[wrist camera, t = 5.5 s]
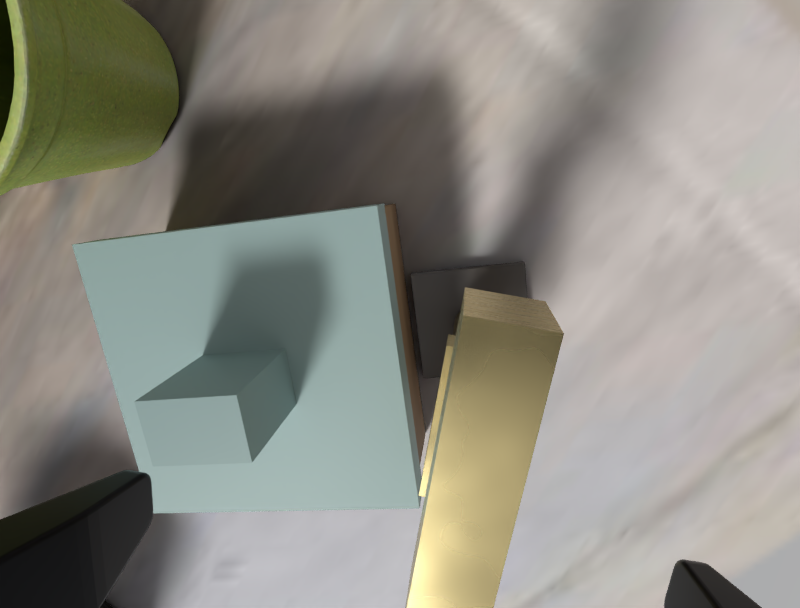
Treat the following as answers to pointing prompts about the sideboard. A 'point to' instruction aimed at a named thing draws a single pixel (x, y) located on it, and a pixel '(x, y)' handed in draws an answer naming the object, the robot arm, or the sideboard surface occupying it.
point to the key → (481, 446)
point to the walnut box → (439, 309)
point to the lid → (260, 362)
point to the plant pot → (80, 89)
